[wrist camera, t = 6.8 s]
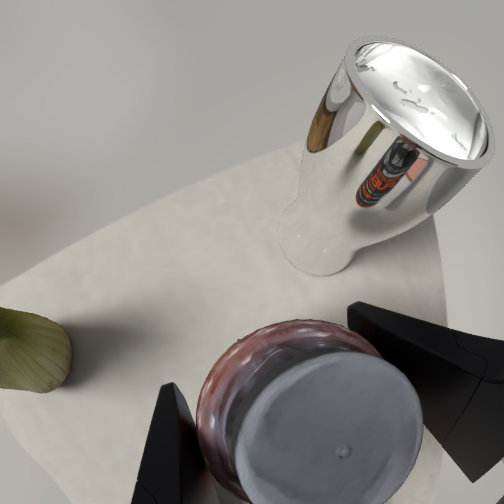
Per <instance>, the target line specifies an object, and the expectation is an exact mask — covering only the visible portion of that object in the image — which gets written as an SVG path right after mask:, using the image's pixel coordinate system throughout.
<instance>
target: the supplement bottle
mask: <svg viewBox="0 0 504 504" xmlns="http://www.w3.org/2000/svg"><path fill="white" fill-rule="evenodd" d="M237 340H238V341H237V342H236V343H234V344H233V345H232V346H231V347H229V348H228V349H227V350H226V352H225V353H224V354H223V355H222V356H221V357H220V358H219V359H218V360H217V362H216V363H215V364H214V366H213V367H212V369H211V371H210V372H209V374H208V376H207V378H206V380H205V382H204V385H203V387H202V389H201V392H200V395H199V399H198V403H197V410H196V435H197V440H198V446H199V449H200V452H201V454H202V457H203V460H204V462H205V464H206V466H207V468H208V469H209V470H210V472H211V473H212V475H213V476H214V477H215V479H216V480H217V481H218V482H219V483H220V484H221V485H222V486H223V487H224V488H225V489H226V490H228V491H229V492H230V493H232V494H233V495H234V496H236V497H237V498H239V499H241V500H243V501H245V502H247V503H249V504H383V503H385V502H386V501H387V500H388V499H390V498H391V496H392V495H393V494H394V493H395V492H396V491H397V490H398V489H399V488H400V487H401V486H402V485H403V483H404V481H405V480H406V478H407V477H408V475H409V474H410V472H411V470H412V469H413V467H414V465H415V462H416V459H417V457H418V454H419V450H420V447H421V442H422V435H423V412H422V408H421V405H420V400H419V396H418V394H417V392H416V390H415V389H414V387H413V385H412V384H411V383H410V381H409V380H408V379H407V377H406V376H405V375H404V374H403V373H402V372H401V371H400V370H398V369H397V368H396V367H395V366H394V365H392V364H390V363H389V362H387V361H386V360H384V359H383V357H382V356H381V355H380V354H379V352H378V351H377V350H376V349H375V348H374V347H373V346H372V345H371V344H370V343H369V342H368V341H367V340H366V339H364V338H363V337H362V336H360V335H359V334H357V333H356V332H355V331H351V330H350V329H347V328H345V327H344V326H342V325H338V324H334V323H330V322H326V321H320V320H312V319H309V320H299V319H295V320H291V321H284V322H280V323H275V324H272V325H269V326H266V327H264V328H261V329H258V330H256V331H254V332H253V333H251V334H249V335H247V336H245V337H244V338H243V339H237Z"/></svg>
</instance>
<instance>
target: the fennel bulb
mask: <svg viewBox="0 0 504 504" xmlns="http://www.w3.org/2000/svg"><path fill="white" fill-rule="evenodd" d="M71 361H72V350H71V344H70V339H69V337H68V335H67V333H66V332H65V331H64V329H63V328H62V327H61V326H60V325H58V324H57V323H56V322H53V321H52V320H49V319H48V318H45V317H42V316H40V315H37V314H33V313H28V312H23V311H17V310H12V309H5V308H2V307H0V388H4V389H15V390H25V391H32V392H36V393H47V392H51V391H53V390H55V389H57V388H58V387H59V386H60V385H61V384H62V383H63V382H64V380H65V379H66V377H67V375H68V373H69V371H70V366H71Z"/></svg>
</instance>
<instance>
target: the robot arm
mask: <svg viewBox="0 0 504 504" xmlns="http://www.w3.org/2000/svg"><path fill="white" fill-rule="evenodd" d="M347 323H348V328H349V329H350V330H351V331H355V332H356V333H357V334H359V335H360V336H362V337H363V338H364V339H366V340H367V341H368V342H369V343H370V344H371V345H372V346H373V347H374V348H375V349H376V350H377V351H378V352H379V354H380V355H381V356H382V357H383V359H384V360H386V361H387V362H389V363H390V364H392V365H394V366H395V367H396V368H397V369H398V370H400V371H401V372H402V373H403V374H404V375H405V376H406V377H407V379H408V380H409V381H410V383H411V384H412V385H413V387H414V389H415V390H416V392H417V394H418V396H419V400H420V405H421V408H422V412H423V424H424V425H425V426H426V428H427V429H428V430H429V431H430V432H431V434H432V435H433V436H434V437H435V438H436V440H437V441H438V442H439V443H440V444H441V446H442V447H443V448H444V450H445V451H446V452H447V453H448V454H449V455H450V457H451V458H452V459H453V460H454V462H455V463H456V464H457V465H458V466H459V468H460V469H461V470H462V471H463V473H464V474H465V475H466V476H467V478H468V479H469V480H470V481H471V482H472V483H474V482H475V481H476V480H478V479H479V478H480V477H481V476H482V475H484V474H485V473H486V472H488V471H489V470H490V469H491V468H492V467H493V466H495V464H497V463H498V462H499V461H500V460H502V461H503V462H504V341H503V340H497V339H491V338H486V337H481V336H477V335H472V334H468V333H464V332H461V331H457V330H454V329H450V328H447V327H443V326H440V325H437V324H433V323H430V322H426V321H423V320H420V319H416V318H413V317H410V316H406V315H403V314H400V313H396V312H393V311H390V310H386V309H383V308H380V307H376V306H373V305H370V304H367V303H363V302H360V301H358V302H355V303H353V304H351V305H349V306H348V308H347ZM131 504H220V502H219V499H218V495H217V492H216V489H215V486H214V482H213V479H212V476H211V472H210V470H209V469H208V468H207V466H206V464H205V462H204V460H203V457H202V454H201V452H200V449H199V446H198V440H197V435H196V426H195V423H194V421H193V418H192V415H191V413H190V410H189V407H188V405H187V402H186V400H185V398H184V396H183V395H182V393H181V392H180V390H179V389H178V387H177V386H176V384H175V383H174V382H170V383H168V384H165V385H162V386H161V388H160V392H159V395H158V399H157V402H156V406H155V410H154V413H153V417H152V421H151V425H150V428H149V432H148V436H147V440H146V444H145V448H144V452H143V456H142V460H141V464H140V468H139V472H138V477H137V482H136V485H135V489H134V493H133V497H132V501H131ZM496 504H504V496H503V497H502V498H501V499H500V500H499V501H498V502H497V503H496Z"/></svg>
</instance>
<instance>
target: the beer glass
mask: <svg viewBox="0 0 504 504" xmlns="http://www.w3.org/2000/svg"><path fill="white" fill-rule="evenodd" d="M494 152H495V136H494V131H493V127H492V124H491V122H490V119H489V117H488V115H487V113H486V111H485V109H484V107H483V106H482V104H481V103H480V101H479V100H478V98H477V97H476V95H475V94H474V93H473V91H472V90H471V89H470V88H469V87H468V85H467V84H466V83H465V82H464V81H463V80H462V79H461V78H460V77H459V76H458V75H457V74H456V73H455V72H454V71H452V70H451V69H450V68H449V67H448V66H446V65H445V64H444V63H442V62H441V61H440V60H438V59H437V58H435V57H434V56H432V55H431V54H429V53H427V52H426V51H424V50H422V49H420V48H418V47H416V46H414V45H411V44H409V43H406V42H404V41H401V40H397V39H394V38H389V37H383V36H368V37H363V38H360V39H357V40H355V41H354V42H352V43H351V44H350V45H349V47H348V48H347V51H346V54H345V57H344V59H343V60H342V62H341V64H340V66H339V68H338V70H337V72H336V73H335V75H334V77H333V79H332V81H331V82H330V85H329V86H328V88H327V90H326V92H325V94H324V96H323V98H322V100H321V102H320V104H319V107H318V109H317V111H316V113H315V116H314V118H313V120H312V123H311V126H310V129H309V132H308V136H307V138H306V141H305V145H304V150H303V155H302V160H301V167H300V175H299V183H298V192H297V197H296V199H295V200H294V201H293V202H292V203H291V204H290V205H289V206H288V207H287V208H286V209H285V211H284V212H283V214H282V215H281V217H280V220H279V223H278V228H277V236H278V242H279V246H280V248H281V251H282V253H283V254H284V256H285V257H286V259H287V260H288V261H289V262H290V263H291V264H292V265H293V266H294V267H296V268H297V269H299V270H300V271H302V272H304V273H307V274H310V275H315V276H326V275H331V274H335V273H337V272H339V271H341V270H342V269H343V268H345V267H346V266H347V265H348V264H349V263H350V261H351V260H352V259H353V257H354V255H355V254H356V252H357V251H358V250H359V249H361V248H364V247H367V246H370V245H373V244H376V243H379V242H381V241H384V240H387V239H390V238H392V237H395V236H397V235H399V234H401V233H403V232H405V231H408V230H410V229H412V228H413V227H415V226H416V225H418V224H419V223H421V222H422V221H424V220H425V219H427V218H428V217H430V216H431V215H433V214H434V213H435V212H436V211H437V210H439V209H440V208H441V207H442V206H444V205H445V204H446V203H447V202H448V201H449V200H451V199H452V198H453V197H454V196H455V195H456V194H457V193H458V192H459V191H460V190H461V189H462V188H463V187H464V186H465V185H466V184H467V183H468V182H469V181H470V180H471V179H472V178H473V177H474V176H475V175H476V174H477V172H479V171H480V170H481V169H482V168H483V167H484V166H486V165H487V164H488V163H489V162H490V161H491V160H492V158H493V155H494Z"/></svg>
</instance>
